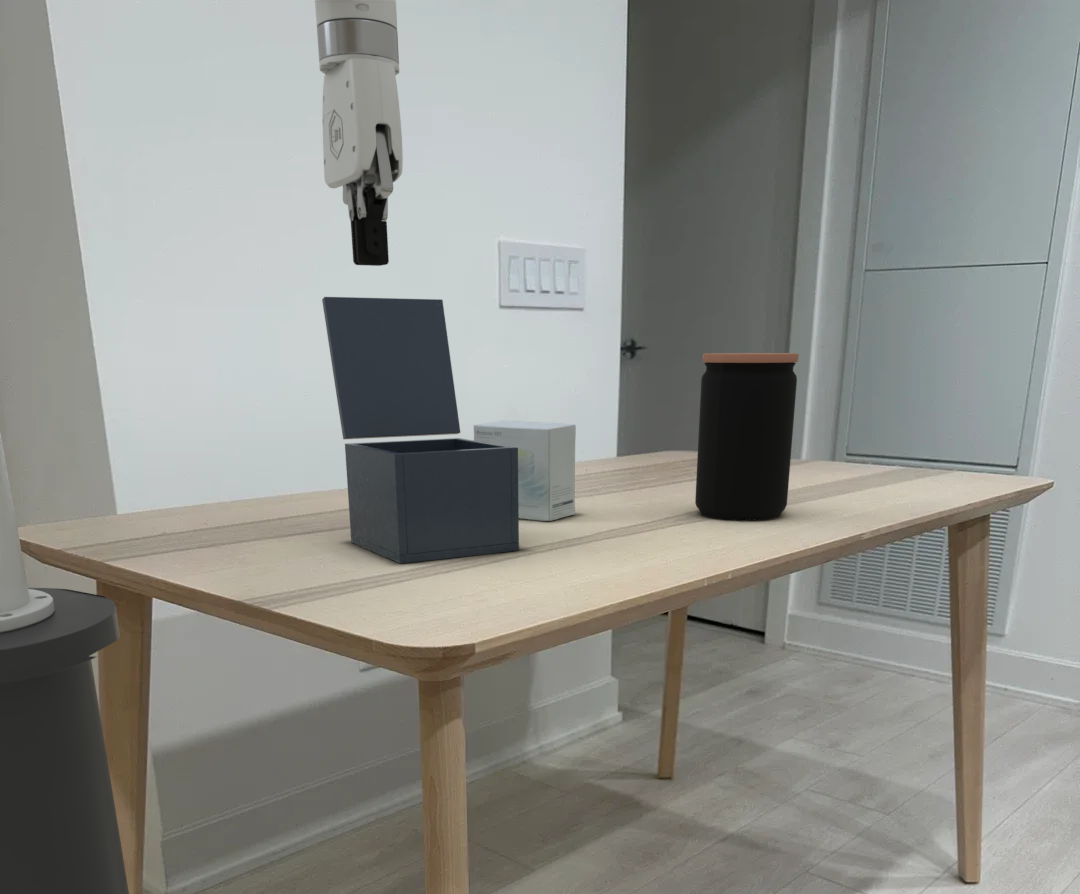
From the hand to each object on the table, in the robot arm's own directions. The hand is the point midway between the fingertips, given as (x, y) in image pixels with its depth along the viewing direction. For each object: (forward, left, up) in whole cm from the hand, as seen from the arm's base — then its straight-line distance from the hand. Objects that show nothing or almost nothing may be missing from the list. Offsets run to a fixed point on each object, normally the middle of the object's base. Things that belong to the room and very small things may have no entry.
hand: (371, 264), depth 103 cm
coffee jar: (+40, -13, -27) cm, 50 cm away
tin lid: (0, -5, -10) cm, 11 cm away
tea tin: (0, -13, -27) cm, 30 cm away
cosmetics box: (+18, 0, -27) cm, 32 cm away
